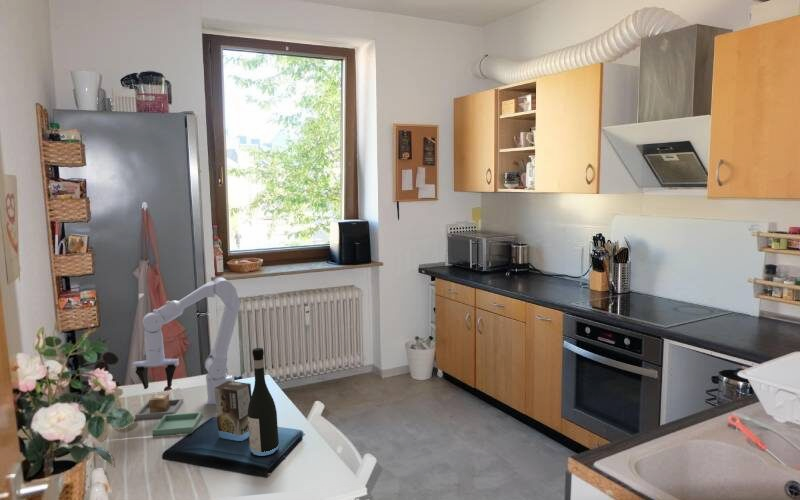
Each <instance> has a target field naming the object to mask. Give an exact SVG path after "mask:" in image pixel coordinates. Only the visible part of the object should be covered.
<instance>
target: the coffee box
mask: <svg viewBox="0 0 800 500" xmlns="http://www.w3.org/2000/svg"><path fill="white" fill-rule="evenodd" d="M214 391H215V402H216V404H215V411H216V413H215V414H216V422H217V431H218V430H219V431H223V432H228V433H232V434H236V435H243V434H244V433H246V432H248V431H249V427H248V406H249V402H250V399H251V396H252V383H248V382H242V381H235V382H233V381H227V382H225V383H223V384H221V385H219V386H217V387H215V388H214Z"/></svg>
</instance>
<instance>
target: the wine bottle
mask: <svg viewBox="0 0 800 500" xmlns="http://www.w3.org/2000/svg"><path fill="white" fill-rule="evenodd" d="M264 354H265V353H264V348H262V347H256V348H253V349H252V357H253V369H254V385H253V390H252V392H251V399H250V402H249V406H248V427H249V438H248V440H249V441H248V442H249V449H250V448H251V449H252V450H254V451H258V452H264V451H265V452H266V451H270V450H272V449H274V448H276V447H277V446H278V444H279V445H280V443H279V441H280V439H279V431H278V429H279V427H278V425H279V424H278V412H277V408H276V402H275V400H274V398H273V396H272V395H271V394H272V393H271V392H270V391H269V388H268V385H267V383H266V378H265V365H264V362H265V361H264Z"/></svg>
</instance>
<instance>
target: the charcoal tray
mask: <svg viewBox="0 0 800 500" xmlns="http://www.w3.org/2000/svg"><path fill="white" fill-rule="evenodd" d="M169 403H170V408H169V409H168V411H167V412H157V413H150V407H149V400H148V401H146V402H145V403H144V404H143V406H142V407H141V408H140V409H139V410H138V411H137V412H136V413H135V415H134V419H135V420H145V419H146V420H147V419H148V420H150V419H159V418H160V419H162V418H163V416H164V415H169V414H177V412H178V411H179V409H180V408H181V407H182V405H183V404H184V398H175V399H169Z"/></svg>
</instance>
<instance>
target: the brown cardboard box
mask: <svg viewBox="0 0 800 500" xmlns="http://www.w3.org/2000/svg"><path fill="white" fill-rule="evenodd" d="M169 395H170V393H160V394H159V393H158V394H153V395H152V396H151V397H150V398H149V399H148V401H149V407H150V413H157V412H167V411H168V409H169V408H170V403H169V400H170V396H169Z"/></svg>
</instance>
